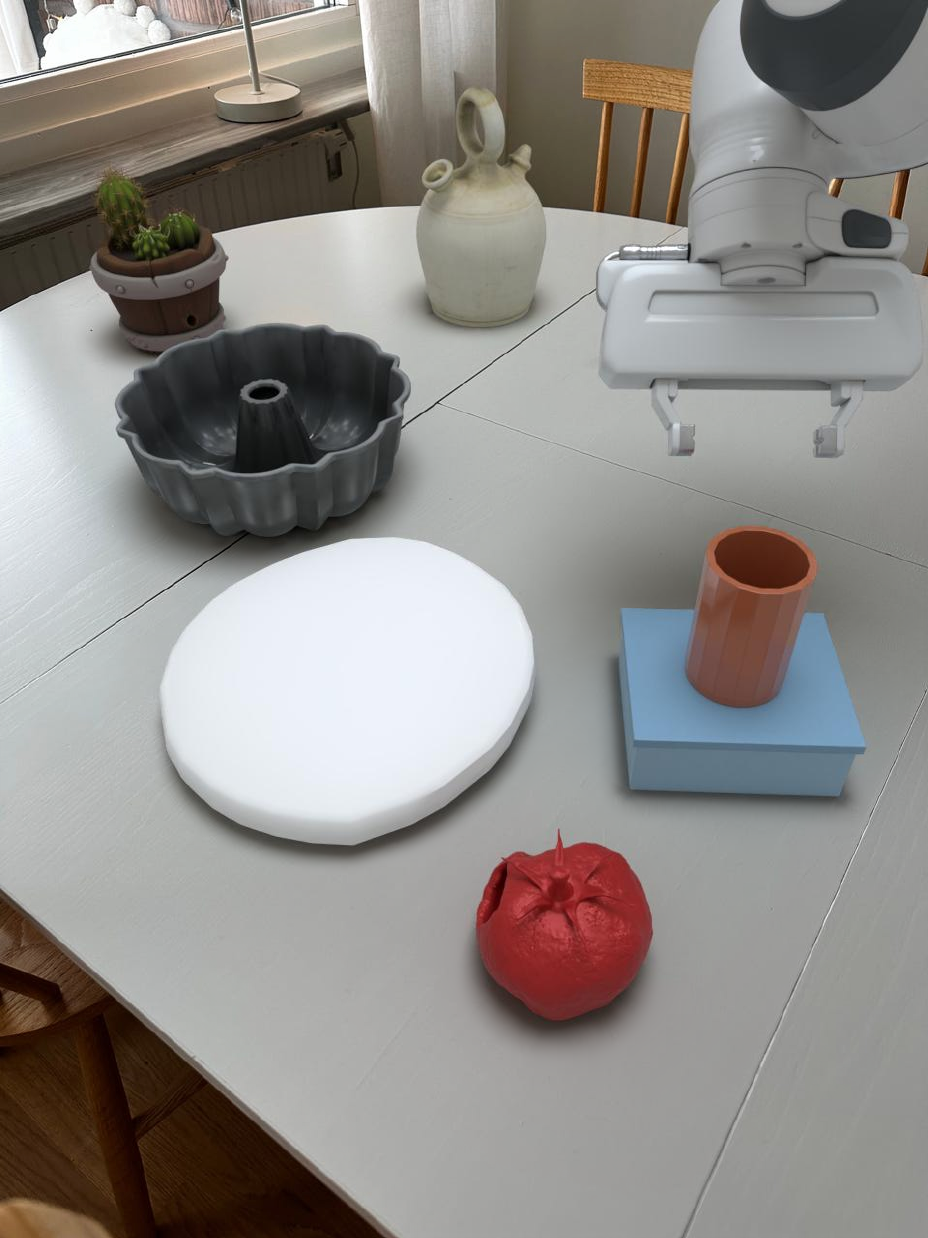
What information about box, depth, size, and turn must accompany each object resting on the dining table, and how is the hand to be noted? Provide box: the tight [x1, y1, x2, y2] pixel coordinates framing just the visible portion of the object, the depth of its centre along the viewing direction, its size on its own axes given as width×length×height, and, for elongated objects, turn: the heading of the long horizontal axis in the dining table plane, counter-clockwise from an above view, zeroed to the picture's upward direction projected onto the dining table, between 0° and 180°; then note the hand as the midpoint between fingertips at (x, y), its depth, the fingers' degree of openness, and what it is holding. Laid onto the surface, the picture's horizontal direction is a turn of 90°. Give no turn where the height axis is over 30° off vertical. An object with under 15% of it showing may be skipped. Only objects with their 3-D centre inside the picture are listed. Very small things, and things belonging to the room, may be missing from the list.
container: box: [618, 607, 867, 797], centre depth 69 cm, size 15×13×6 cm
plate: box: [158, 536, 537, 846], centre depth 71 cm, size 28×6×27 cm
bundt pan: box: [114, 322, 412, 538], centre depth 91 cm, size 26×26×10 cm
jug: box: [415, 85, 547, 328], centre depth 113 cm, size 15×16×25 cm
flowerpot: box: [88, 160, 229, 356], centre depth 110 cm, size 14×15×20 cm
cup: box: [684, 525, 819, 708], centre depth 63 cm, size 7×7×10 cm
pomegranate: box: [475, 828, 654, 1021], centre depth 55 cm, size 10×10×9 cm
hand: (754, 455), depth 63 cm, fingers open, 8 cm apart
